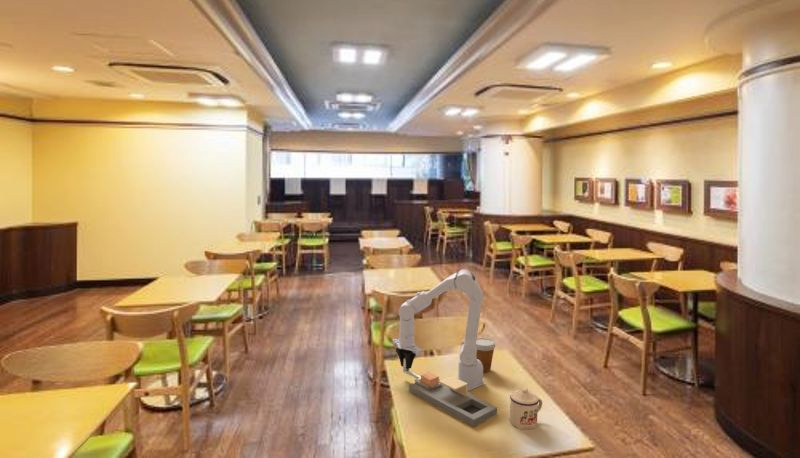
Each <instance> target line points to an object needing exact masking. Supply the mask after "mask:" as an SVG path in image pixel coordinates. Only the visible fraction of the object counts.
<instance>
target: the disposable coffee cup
mask: <svg viewBox="0 0 800 458" xmlns="http://www.w3.org/2000/svg"><path fill="white" fill-rule="evenodd" d="M476 347H477V355H476V356H477V359H478V360H480V361H481V363H482V365H483V374H486V373H490V372H491V369H492V368H491V367H492V364H493V363H492V362H493V358H494V351H495V350H494V349H495V347H496V344H495V341H494V340H492V339H491V338H486V337H477V340H476Z"/></svg>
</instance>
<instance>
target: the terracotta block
mask: <svg viewBox="0 0 800 458" xmlns="http://www.w3.org/2000/svg"><path fill="white" fill-rule="evenodd" d="M420 376H421V382H422V383H424V384H426V385H428V386H431V385H434V384H436V383H438V381H439V379H440V376H439V375H437V374H435V373H433V372H431V371H428V372H426V373H423V374H421V375H420Z"/></svg>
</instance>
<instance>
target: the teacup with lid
mask: <svg viewBox="0 0 800 458" xmlns="http://www.w3.org/2000/svg"><path fill="white" fill-rule="evenodd" d="M509 399H510V404H509V405H510V407H509V410H510V411H509V422H510V424H511V425H512V426H514V427H516V428H517V429H521V430H532V429H534V428H536V426H537V425H538V413H539V412H540V411H541V409H542V407H543V400H542V399H541V398H539V397H538V395H537V393H534V392H532V391H530V390H529V389H528V388H526V387H522V388H521V389H517V390H514V391H512V392H511V393H510V395H509Z"/></svg>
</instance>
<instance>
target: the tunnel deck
mask: <svg viewBox="0 0 800 458" xmlns="http://www.w3.org/2000/svg"><path fill="white" fill-rule="evenodd" d="M438 383H440V384H442V386H439V387H437V388H435V389H432V390H429V389H427V388H425V387H423V386H421V385H419V384H417V383H415V382H414V383H411V384H409V385H408V388H409V389H408V392H409V393H411V394H412V395H414V396H417V397H419V398H420V399H422V400H423V401H425V402H426V403H430V404H431V405H433V406H435V407H436V408H439V409H440V410H442V411H444V412H445V413H446V414H447V413H448V414H449V415H451V416H452V417H455V418H457V419H458V420H459V421H460V420H461V421H462V422H464V423H466V424H468V425H469V426H471V427H473V428H474V427H476V426H479V425H480V424H482V423H484V422H486V421H488V420H490V419H491V418H493V417H495V416H497V415H498V407H497V406H495V405H492V403H491V404H490V403H489V402H487V401H485V400H483V399H481V398H479V397H476V396H475V395H472V394H471V393H468V383H466V382H463V381H461V380H459V379H458V377H455V376H452V375H450V376H447V377H444V378H443V379H440V378H439V381H438Z"/></svg>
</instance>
